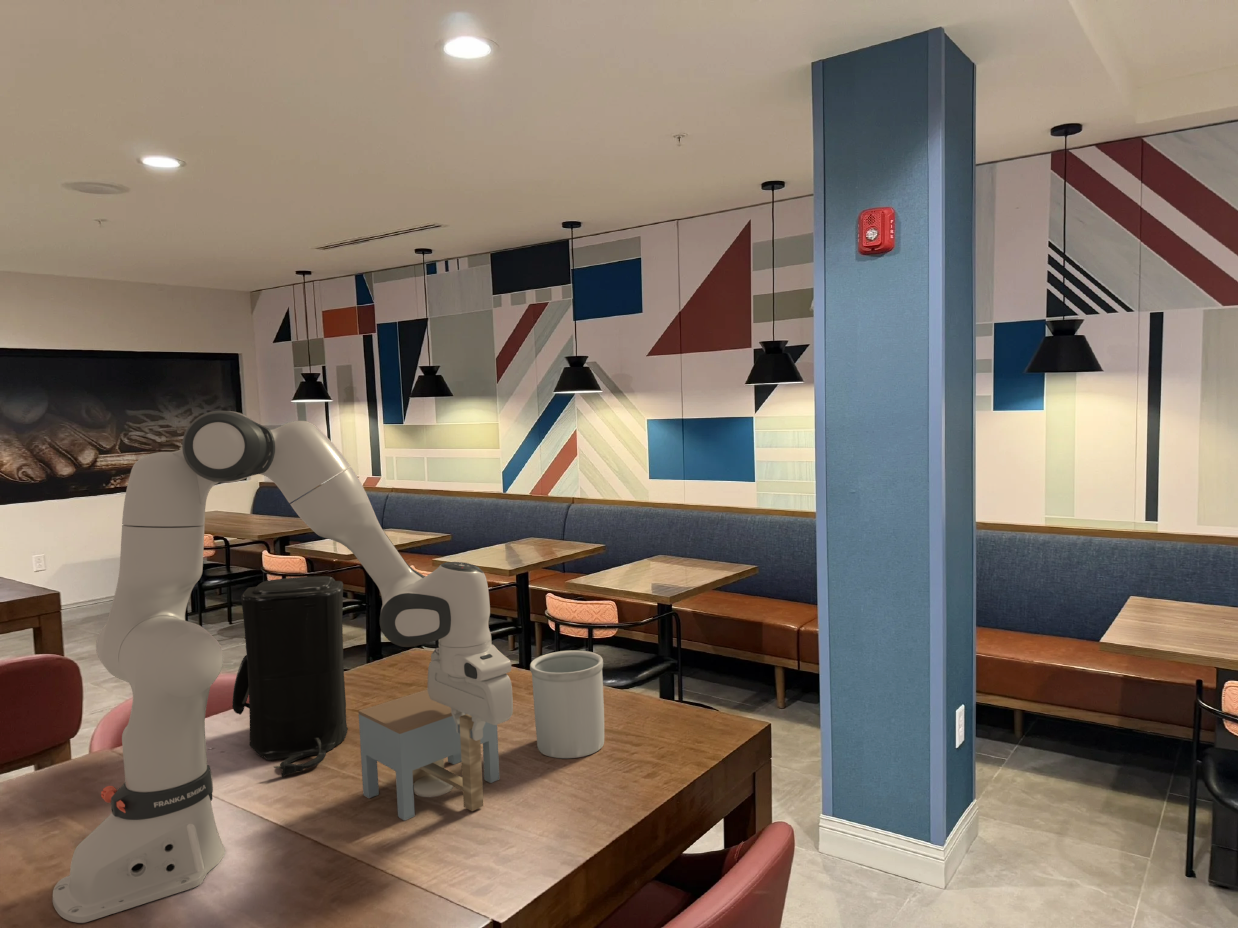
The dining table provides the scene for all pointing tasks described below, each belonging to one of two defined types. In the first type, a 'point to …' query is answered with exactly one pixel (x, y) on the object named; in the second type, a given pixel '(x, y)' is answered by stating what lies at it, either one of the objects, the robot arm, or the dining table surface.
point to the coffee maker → (293, 669)
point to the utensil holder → (568, 703)
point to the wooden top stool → (414, 744)
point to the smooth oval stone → (431, 786)
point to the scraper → (470, 768)
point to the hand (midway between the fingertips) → (469, 735)
